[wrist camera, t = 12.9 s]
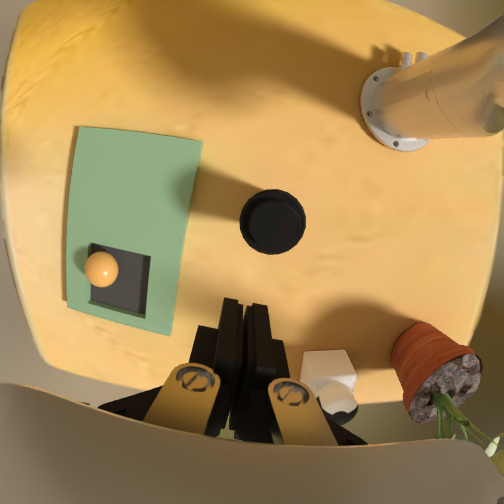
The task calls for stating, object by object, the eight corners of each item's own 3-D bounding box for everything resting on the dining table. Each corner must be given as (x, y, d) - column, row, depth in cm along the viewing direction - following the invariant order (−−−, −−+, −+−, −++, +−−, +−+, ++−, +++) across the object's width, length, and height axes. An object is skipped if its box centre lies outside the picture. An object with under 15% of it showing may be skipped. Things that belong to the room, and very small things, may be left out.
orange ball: (92, 275, 41) (81, 249, 38) (122, 268, 42) (113, 241, 39) (90, 297, 37) (77, 270, 34) (122, 290, 38) (112, 261, 36)
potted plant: (359, 371, 48) (435, 543, 14) (410, 300, 44) (548, 452, 10) (413, 388, 50) (488, 519, 16) (458, 328, 46) (567, 445, 13)
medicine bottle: (337, 380, 48) (356, 429, 36) (298, 383, 48) (309, 434, 36) (345, 348, 46) (368, 396, 34) (303, 350, 46) (318, 401, 34)
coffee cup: (237, 232, 40) (235, 254, 30) (244, 180, 38) (243, 185, 29) (289, 239, 40) (302, 262, 31) (297, 187, 39) (314, 195, 29)
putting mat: (84, 127, 35) (79, 126, 34) (203, 142, 37) (201, 141, 35) (71, 303, 43) (67, 307, 41) (171, 331, 44) (169, 336, 43)
